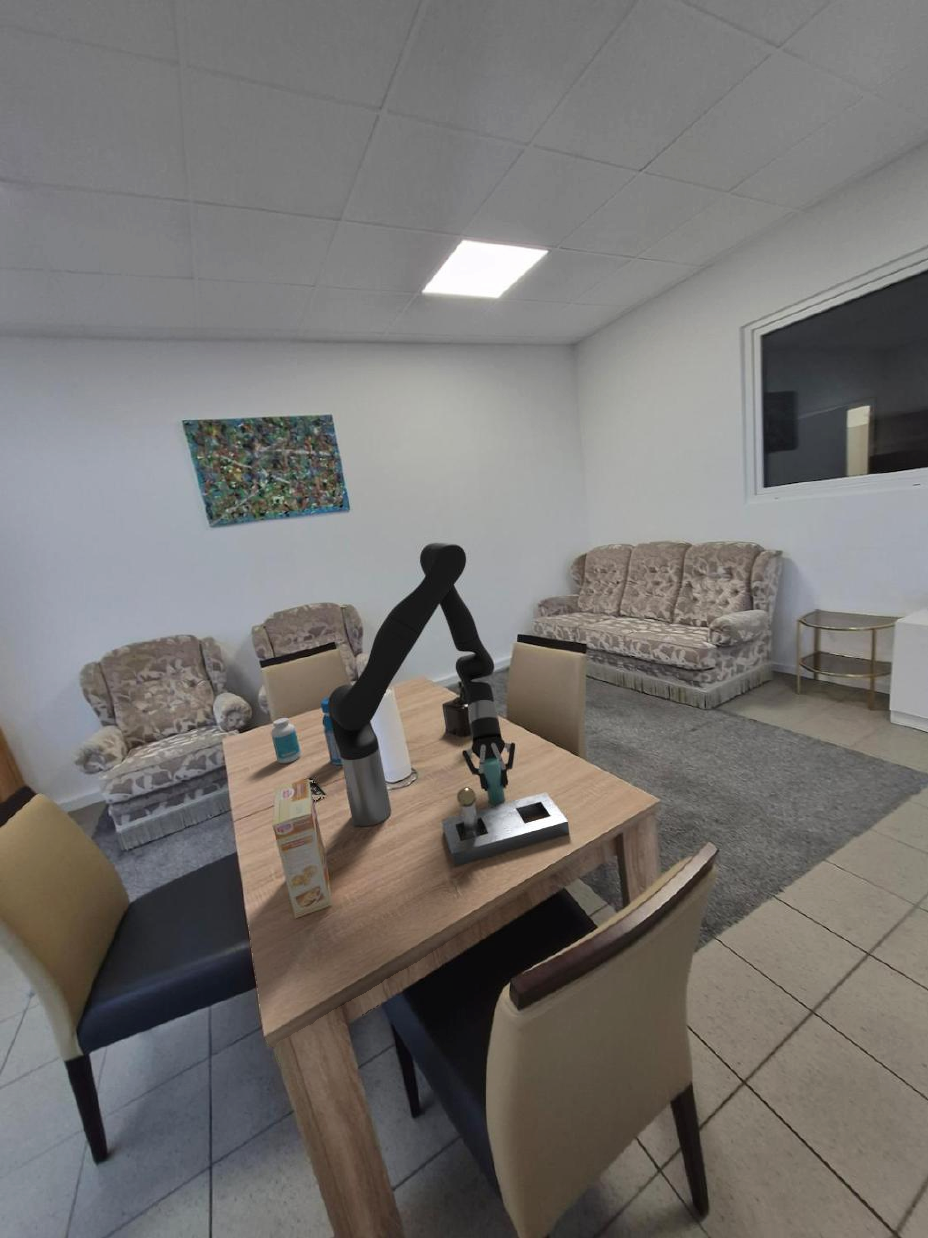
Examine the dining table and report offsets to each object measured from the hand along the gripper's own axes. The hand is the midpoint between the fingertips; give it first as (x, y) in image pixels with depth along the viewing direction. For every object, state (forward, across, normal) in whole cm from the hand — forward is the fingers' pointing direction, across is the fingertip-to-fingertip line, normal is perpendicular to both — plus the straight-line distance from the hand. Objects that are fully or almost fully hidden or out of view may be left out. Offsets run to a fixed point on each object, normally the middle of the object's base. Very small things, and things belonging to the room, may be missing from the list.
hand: (495, 788), depth 114 cm
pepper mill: (-28, -4, +35) cm, 45 cm away
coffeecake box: (+16, -40, -10) cm, 44 cm away
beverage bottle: (-24, -45, +30) cm, 59 cm away
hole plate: (+11, 0, -5) cm, 12 cm away
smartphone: (-11, -52, +18) cm, 56 cm away
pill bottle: (-28, -64, +34) cm, 78 cm away
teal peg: (+2, 0, +4) cm, 4 cm away
